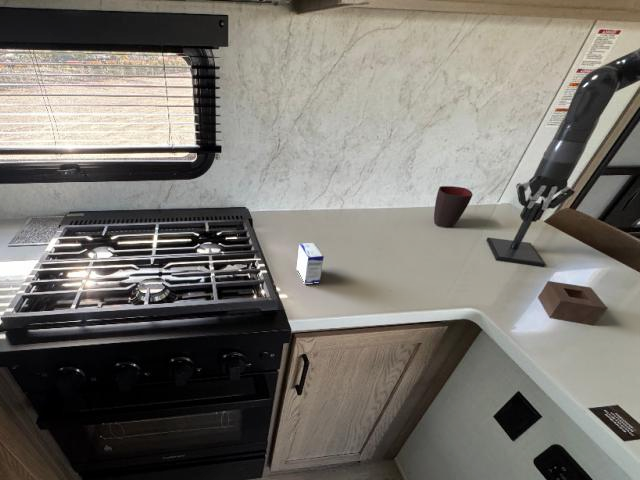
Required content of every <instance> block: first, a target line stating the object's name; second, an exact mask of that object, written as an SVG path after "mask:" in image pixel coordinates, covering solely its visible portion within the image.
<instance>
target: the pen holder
mask: <svg viewBox="0 0 640 480" xmlns="http://www.w3.org/2000/svg"><path fill="white" fill-rule="evenodd" d="M537 299H538V300H539V302H540V304H541V305H542V307H543V309H544V311H545V313H546V315H547V316H548V318H549V319H554V320H561V321H567V322H573V323H577V324H584V325H590V326H595V325H596V324H597V323H598V321H599V320H600V319H601V318H602V316H603V315H604V314H605V313H606V311H607V310H608V307H607V305H606V304H605V303H604V302H603V300H602V299H601V298H600V297H599V295H598V294H597V293H596V292H595V290H594V289H593V288H592V287H591V286H586V285H585V286H584V285H578V284H573V283H566V282H565V283H564V282H557V281H553V280H547V281H546V283H545V285H544V287H543V288H542V289H541V291H540V293H539V294H538V296H537Z"/></svg>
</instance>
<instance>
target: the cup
mask: <svg viewBox="0 0 640 480" xmlns="http://www.w3.org/2000/svg"><path fill="white" fill-rule="evenodd" d="M473 195H474V194H473V192H472V191H471V190H470V189H468V188H466V187H461V186H452V185H451V186H450V185H442V186H441V185H440V186H439V188H438V190H437V194H436V197H435V204H434V211H433V223H434V225H435V226H437V227H439V228H446V229H447V228H449V229H451V228H453V227H454V226H455V225H456V224H457V223H458V221H459V220H460V218H461V217H462V215H463V214H464V212H465V211H466V209H467V207H468V206H469V204H470V202H471V200H472V197H473Z"/></svg>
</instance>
